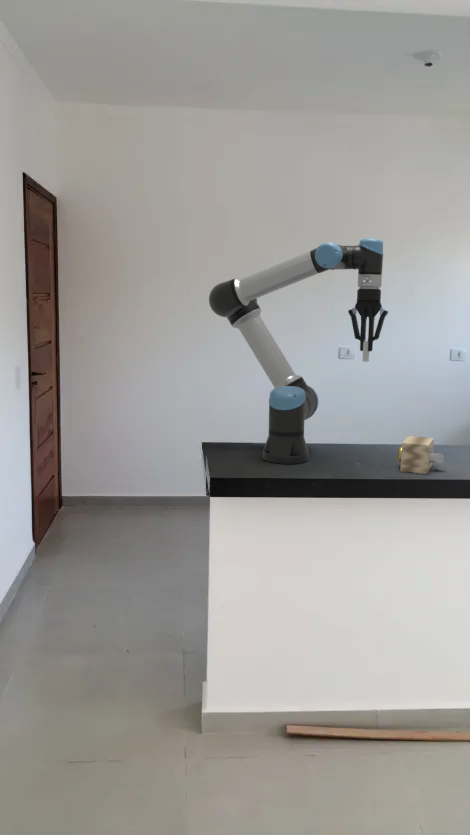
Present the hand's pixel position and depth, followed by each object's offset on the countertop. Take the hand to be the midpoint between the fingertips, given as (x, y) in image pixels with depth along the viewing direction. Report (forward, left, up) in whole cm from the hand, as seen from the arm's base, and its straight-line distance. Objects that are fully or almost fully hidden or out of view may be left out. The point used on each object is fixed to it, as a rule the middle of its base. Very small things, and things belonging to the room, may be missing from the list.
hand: (365, 361), depth 229 cm
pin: (+21, -7, -31) cm, 38 cm away
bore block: (+19, -7, -32) cm, 38 cm away
